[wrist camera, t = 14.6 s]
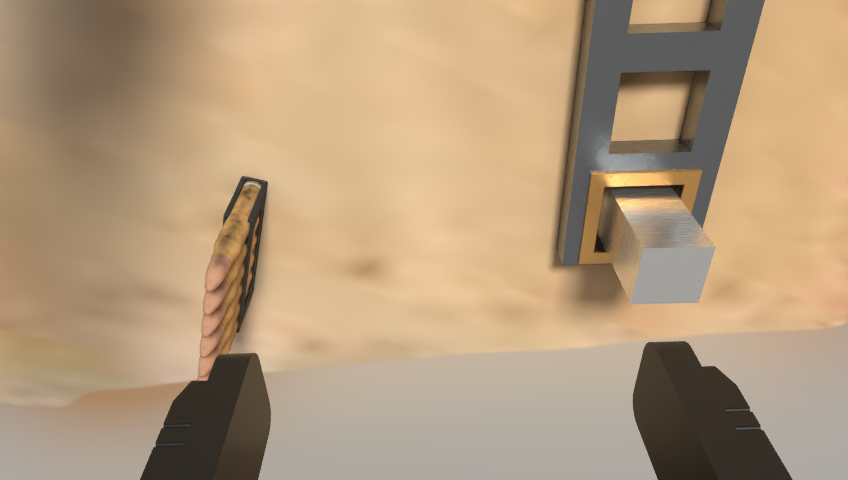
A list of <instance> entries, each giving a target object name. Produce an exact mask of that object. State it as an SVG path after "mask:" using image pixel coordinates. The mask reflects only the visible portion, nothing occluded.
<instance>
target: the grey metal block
mask: <svg viewBox="0 0 848 480" xmlns="http://www.w3.org/2000/svg"><path fill="white" fill-rule="evenodd" d="M597 233H598V235H599V238H600V240H601V242H602V244H603V246H604V248H605V250H606V252H607V255H608V257H609V259H610V261H611V263H612V265H613V267H614V270H615V272H616V274H617V276H618V278H619V280H620V282H621V285H622V287H623V289H624V291H625V293H626V295H627V297H628V300H629V302H630V304H663V303H698V302H699V299H700V296H701V292H702V289H703V286H704V283H705V279H706V276H707V273H708V269H709V266H710V263H711V260H712V256H713V253H714V250H715V245H714V244H713V243H712V241H711V240H710V239H709V237H708V236H707V235H706V233H705V232H704V231H703V229H702V228H701V227H700V225H699V224H698V222H697V221H696V220H695V218H694V217H693V216H692V214H691V213H690V212H689V210H688V209H687V208H686V206H685V205H684V204H683V202H682V201H681V199H680V198H679V197H678V195H677V194H676V193H675V191H674V190H673V189H672V187H671V186H670V185H652V186H619V187H604V191H603V198H602V204H601V210H600V216H599V223H598V229H597Z"/></svg>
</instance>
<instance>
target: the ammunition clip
mask: <svg viewBox="0 0 848 480" xmlns="http://www.w3.org/2000/svg"><path fill="white" fill-rule="evenodd" d="M267 184H268V182H267V181H263V180H259V179H254V178H249V177H244V176H242V178H241V180H240V182H239V184H238V186H237V188H236V190H235V193H234V195H233V197H232V199H231V201H230V203H229V205H228V208H227V210H226V212H225V214H224V219H223V227H222V229H221V231H220V233H219V236H218V238H217V240H216V242H215V245H214V252H213V255H212V257H211V261H210V263H209V266H208V268H207V272H206V277H205V289H206V292H205V296H204V302H203V312H204V315H203V319H202V329H201V331H202V337H201V342H200V359H199V368H198V372H199V376H198V381H206V380H208V377H209V374H210V372H211V369H212V366H213V364H214V361H215V359H216V357H217V356H218V355H219V354H228V352H229V350H230V348H231V345H232V342H233V339H234V336H235V334H236V332H237V333H238V332H239V330H240V327H241V325H242V322H243V319H244V316H245V313H246V310H247V308H248V305H249V302H250V299H251V296H252V293H253V290H254V282H255V275H256V267H257V260H258V252H259V245H260V237H261V229H262V222H263V214H264V207H265V199H266V192H267Z"/></svg>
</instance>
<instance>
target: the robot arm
mask: <svg viewBox="0 0 848 480" xmlns="http://www.w3.org/2000/svg"><path fill="white" fill-rule="evenodd" d="M633 409H634V416H635V420H636V423H637V426H638V429H639V431H640V434H641V437H642V439H643V442H644V444H645V447H646V450H647V452H648V455H649V457H650V460H651V463H652V465H653V468H654V470H655V473H656V475H657V478H658V480H792V478H791V476H790V475H789V473H788V471H787V469H786V468H785V466H784V464H783V463H782V461H781V459H780V458H779V456H778V455H777V453H776V451H775V449H774V448H773V446H772V444H771V443H770V441H769V439H768V437H767V436H766V434H765V432H764V431H763V430H761V428H760V424H759V422H758V421H757V419H756V417H755V415H754V414H753V412H750V407H749V405H748V404H747V402H746V400H745V399H744V397H743V395H742V394H741V392H740V390H739V389H738V387H737V385H736V384H735V383H733V382H732V381H731V380H730V379H729V378H728V377H726V376H725V375H724V374H723V373H722V372H721V371H720V370H719V369H717V368H716V367H715V366H706V367H702V366H701V364H700V362H699V361H698V359H697V357H696V355H695V354H694V352H693V350H692V348H691V346H690V345H689V344H688V343H687V342H685V341H679V342H648V343H647V344H646V345H645V348H644V351H643V355H642V359H641V363H640V368H639V371H638V376H637V380H636V384H635V388H634V393H633ZM270 421H271V410H270V402H269V398H268V394H267V389H266V385H265V381H264V377H263V373H262V369H261V365H260V361H259V358H258V355H257V354H256V353H245V354H219V355H218V356H217V357H216V359H215V361H214V364H213V366H212V369H211V372H210V374H209V377H208V380H206V381H191V382H190V383H189V384H188V386H187V387H186V388H185V389H184V390H183V391H182V392H181V393H180V394H179V395H178V396H177V397H176V399H175V400H174V401H173V403H172V405H171V407H170V410H169V412H168V415H167V417H166V419H165V422H164V427H163V428H162V429H161V431H160V434H159V436H158V439H157V441H156V447H154V448H153V450H152V453H151V455H150V457H149V460H148V462H147V464H146V467H145V469H144V472H143V474H142V477H141V479H140V480H258V477H259V473H260V469H261V465H262V460H263V456H264V452H265V448H266V444H267V440H268V435H269V430H270Z"/></svg>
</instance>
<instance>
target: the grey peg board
mask: <svg viewBox="0 0 848 480" xmlns="http://www.w3.org/2000/svg"><path fill="white" fill-rule="evenodd" d="M764 1H765V0H712V2H711V6H710V10H709V15H708V19H707V22H701V23H668V24H635V25H629V21H630V15H631V8H632V2H633V0H586V7H585V15H584V24H583V32H582V41H581V49H580V58H579V66H578V75H577V83H576V92H575V100H574V109H573V117H572V126H571V134H570V143H569V151H568V160H567V168H566V177H565V185H564V194H563V202H562V211H561V219H560V228H559V236H558V245H557V252H558V255H559V258H560V261H561V264H562V265H585V264H612V263H611V261H610V259H609V257H608V255H607V252H606V250H605V248H604V246H603V244H602V242H601V240H600V238H599V236H596V235H597V229H598V223H599V216H600V210H601V204H602V198H603V191H604V187H619V186H652V185H670V186H671V187H672V189H673V190H674V191H675V193H676V194H677V195H678V197H679V198H680V199H681V201H682V202H683V204H684V205H685V206H686V208H687V209H688V210H689V212H690V213H691V214H692V216H693V217H694V218H695V220H696V221H697V222H698V224H699V225H700V227H701V228H703V224H704V221H705V217H706V213H707V210H708V206H709V202H710V199H711V195H712V191H713V188H714V184H715V180H716V177H717V173H718V169H719V166H720V162H721V158H722V155H723V151H724V148H725V144H726V140H727V137H728V133H729V129H730V126H731V122H732V118H733V115H734V111H735V107H736V104H737V100H738V96H739V93H740V89H741V85H742V82H743V78H744V74H745V71H746V67H747V63H748V60H749V56H750V52H751V49H752V45H753V41H754V38H755V34H756V30H757V27H758V23H759V19H760V16H761V12H762V8H763V5H764ZM664 71H696V72H695V76H694V81H693V85H692V90H691V94H690V98H689V103H688V107H687V112H686V116H685V120H684V125H683V129H682V134H681V138H680V139H679V140H646V141H614V142H610V141H611V135H612V128H613V122H614V116H615V109H616V103H617V97H618V90H619V84H620V78H621V73H631V72H664Z"/></svg>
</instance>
